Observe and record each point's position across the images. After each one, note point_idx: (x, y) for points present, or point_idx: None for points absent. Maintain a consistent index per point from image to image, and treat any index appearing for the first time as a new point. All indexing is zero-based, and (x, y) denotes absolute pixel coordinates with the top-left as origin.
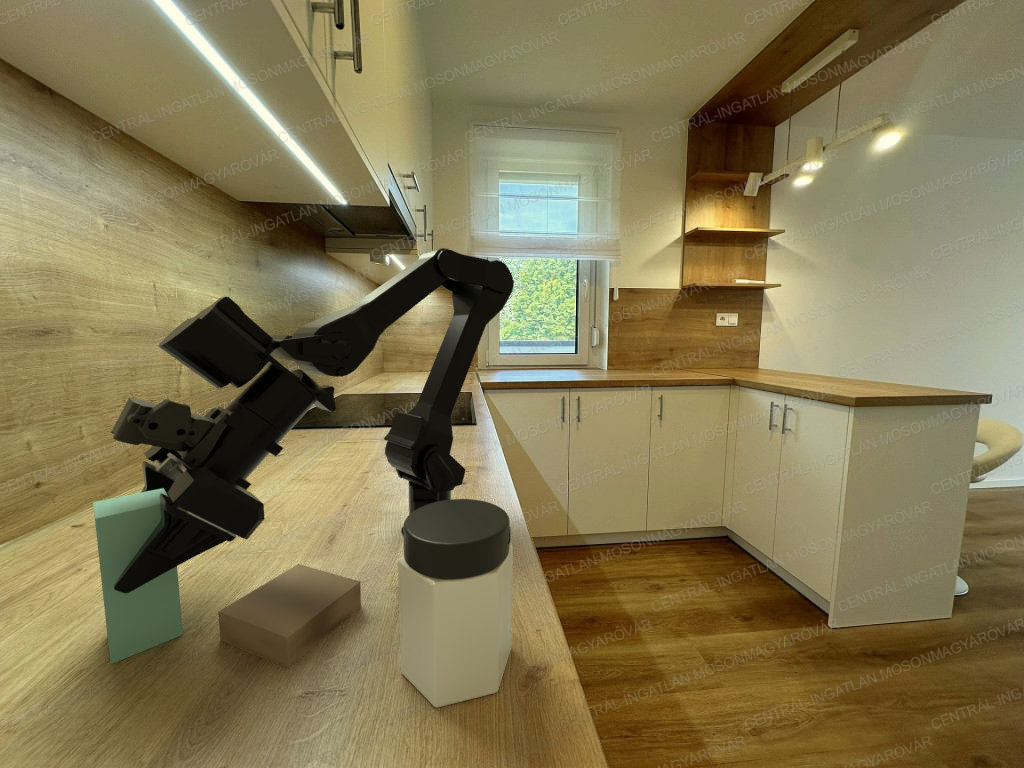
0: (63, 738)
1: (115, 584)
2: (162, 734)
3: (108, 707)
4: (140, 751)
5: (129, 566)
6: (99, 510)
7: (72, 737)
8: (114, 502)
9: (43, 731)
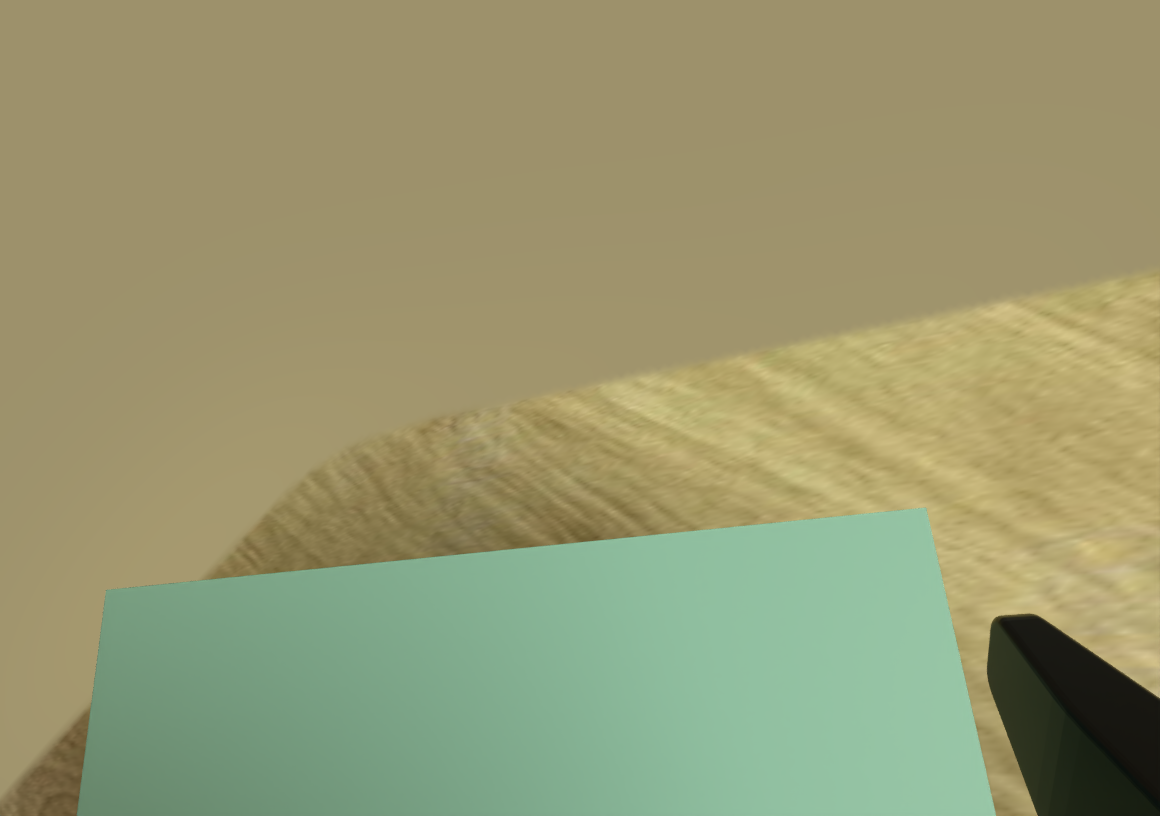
0: (311, 531)
1: None
2: None
3: None
4: None
5: None
6: (391, 618)
7: (298, 548)
8: (672, 806)
9: (374, 487)
